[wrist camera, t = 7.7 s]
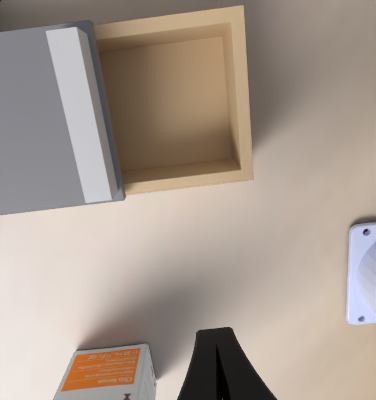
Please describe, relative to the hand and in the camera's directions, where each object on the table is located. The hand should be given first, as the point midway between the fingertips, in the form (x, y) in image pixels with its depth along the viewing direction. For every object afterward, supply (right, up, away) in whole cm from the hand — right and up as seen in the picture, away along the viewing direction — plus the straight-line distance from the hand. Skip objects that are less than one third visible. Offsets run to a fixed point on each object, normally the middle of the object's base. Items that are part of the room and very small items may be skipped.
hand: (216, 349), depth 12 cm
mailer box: (-5, +11, +7) cm, 14 cm away
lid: (-12, +9, +3) cm, 15 cm away
